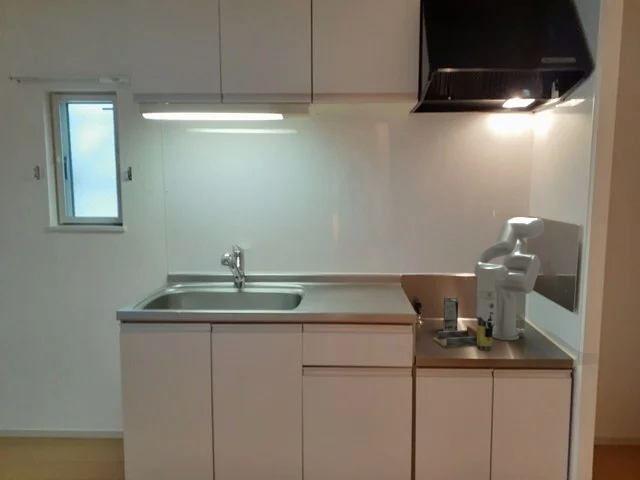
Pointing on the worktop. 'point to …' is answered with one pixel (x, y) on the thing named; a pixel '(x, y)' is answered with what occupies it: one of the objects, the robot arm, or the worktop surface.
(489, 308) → the robot arm
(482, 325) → the sauce bottle
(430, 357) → the worktop surface
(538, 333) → the worktop surface
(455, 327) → the coffee box
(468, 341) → the channel
